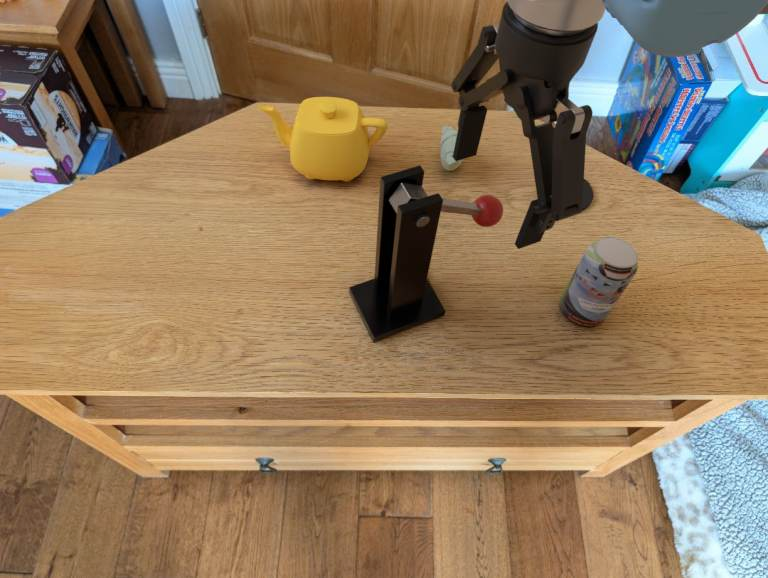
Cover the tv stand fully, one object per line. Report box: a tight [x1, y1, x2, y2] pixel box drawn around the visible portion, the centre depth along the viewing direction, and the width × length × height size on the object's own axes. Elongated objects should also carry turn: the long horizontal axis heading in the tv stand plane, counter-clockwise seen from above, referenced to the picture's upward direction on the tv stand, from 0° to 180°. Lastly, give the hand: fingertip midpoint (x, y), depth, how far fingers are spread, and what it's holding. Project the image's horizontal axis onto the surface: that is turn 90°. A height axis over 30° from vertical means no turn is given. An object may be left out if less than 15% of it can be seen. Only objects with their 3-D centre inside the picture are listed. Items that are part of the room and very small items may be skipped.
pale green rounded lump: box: [439, 125, 465, 171], centre depth 83 cm, size 8×4×7 cm, turn 3°
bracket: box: [348, 164, 447, 343], centre depth 63 cm, size 10×8×22 cm
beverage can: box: [558, 235, 639, 329], centre depth 68 cm, size 6×7×12 cm
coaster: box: [582, 178, 594, 212], centre depth 84 cm, size 8×8×1 cm
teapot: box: [257, 96, 389, 182], centre depth 81 cm, size 18×11×11 cm, turn 88°
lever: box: [389, 183, 504, 228], centre depth 59 cm, size 15×4×4 cm
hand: (494, 197), depth 61 cm, fingers open, 13 cm apart
